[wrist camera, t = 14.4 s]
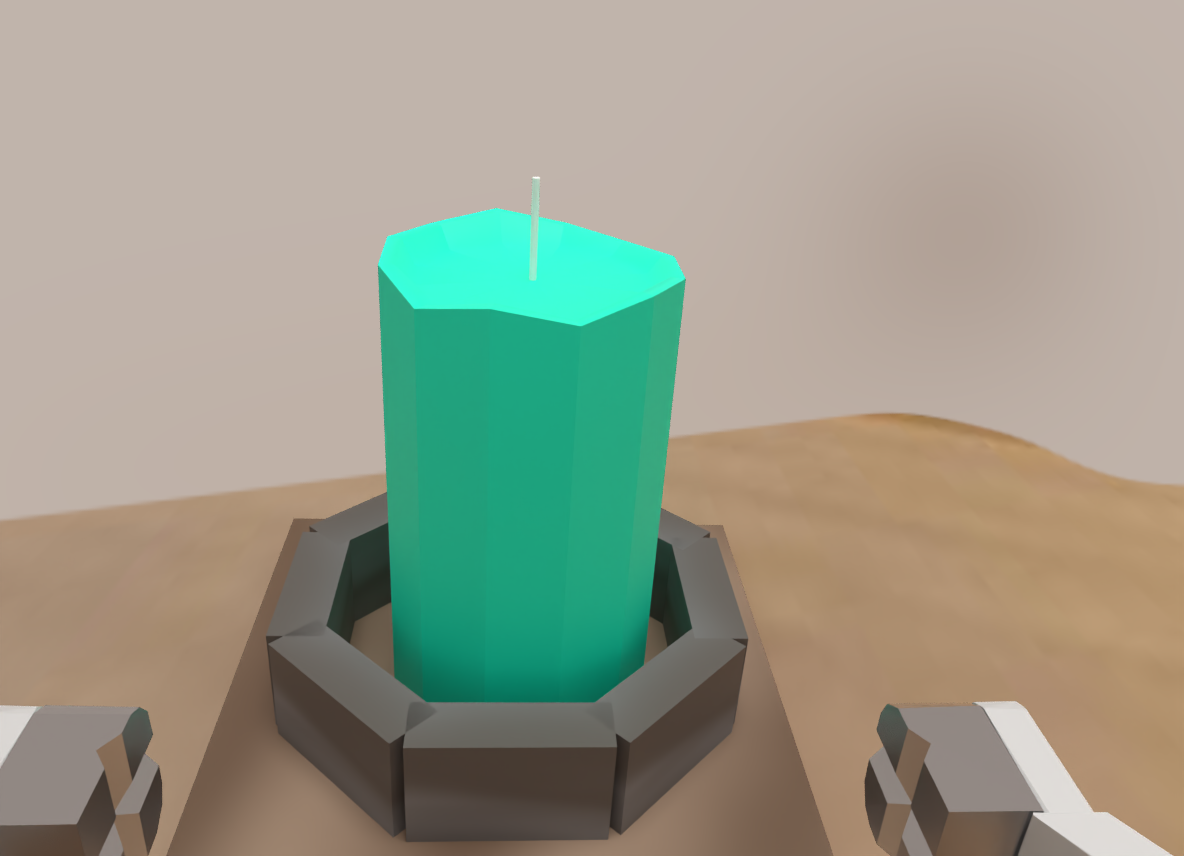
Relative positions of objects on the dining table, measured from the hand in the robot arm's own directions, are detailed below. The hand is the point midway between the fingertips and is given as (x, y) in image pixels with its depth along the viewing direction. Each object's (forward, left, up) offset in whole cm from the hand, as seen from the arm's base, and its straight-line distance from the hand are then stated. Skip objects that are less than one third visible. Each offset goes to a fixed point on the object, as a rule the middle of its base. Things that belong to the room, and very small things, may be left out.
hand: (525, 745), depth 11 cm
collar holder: (0, +11, -9) cm, 14 cm away
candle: (0, +10, -8) cm, 13 cm away
